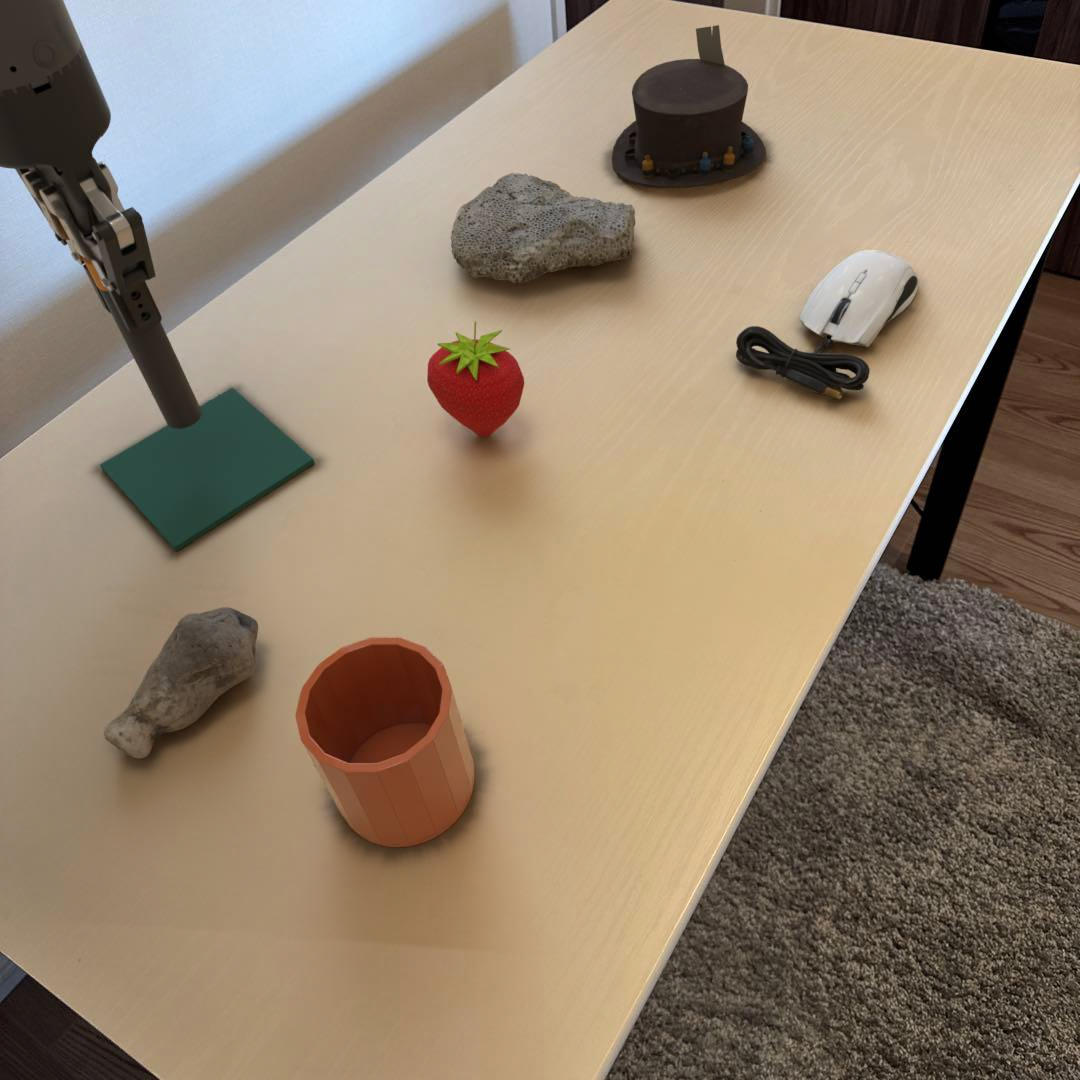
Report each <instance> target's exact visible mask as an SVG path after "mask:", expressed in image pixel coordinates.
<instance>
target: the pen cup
mask: <svg viewBox="0 0 1080 1080" xmlns="http://www.w3.org/2000/svg"><path fill="white" fill-rule="evenodd" d="M295 720H296V725H297V730H298V734H299V738H300V741H301V743H302V745H303V747H304V748H305V751H306V752H307V754H308V756H309V758H310V760H311V762H312V763H313V766H314V768H315V769H316V771H317V772H318V774H319V776H320V778H321V780H322V782H323V784H324V785H325V787H326V790H327V791H328V793H329V795H330V796H331V798H332V800H333V802H334V804H335V806H336V808H337V810H338V812H339V813H340V815H341V816H342V817H343V818H344V820H345V821H346V823H347V824H348V825H349V827H350V828H351V829H352V830H353V831H354V833H356V834H357V835H359V836H360V837H362V838H363V839H365V840H367V841H369V842H370V843H373V844H375V845H379V846H384V847H388V848H407V847H412V846H413V847H414V846H417V845H420V844H424V843H426V842H429V841H430V840H431V841H432V840H433V839H435V838H436V837H439V836H440V835H441V834H442V833H444V832H446V831H447V830H448V829H450V827H451V826H453V825H454V824H455V823H456V822H457V820H458V819H459V818H460V817H461V816H462V815H463V812H464V811H465V810H466V808H467V806H468V804H469V802H470V800H471V798H472V794H473V791H474V785H475V762H474V759H473V756H472V753H471V748H470V745H469V741H468V739H467V735H466V731H465V728H464V725H463V721H462V718H461V714H460V711H459V707H458V704H457V701H456V698H455V694H454V689H453V687H452V684H451V682H450V678H449V675H448V673H447V669H446V666H445V665H444V663H443V662H442V661H441V660H440V659H439V658H438V657H437V656H436V655H435V654H434V653H433V652H432V651H431V650H430V649H428V648H427V646H425V645H423V644H420V643H418V642H415V641H412V640H409V639H406V638H403V637H399V636H377V637H375V636H374V637H373V636H372V637H367V638H364V639H362V640H358V641H356V642H353V643H350V644H346V645H344V646H342V647H340V648H339V649H337V650H336V651H334V652H333V653H331V655H329V656H328V657H326V658H324V660H322V661H321V662H320V663H318V664H317V666H316V667H315V668H314V670H313V672H312V673H311V674H310V675H309V677H308V678H307V680H306V681H305V682H304V684H303V686H302V687H301V689H300V693H299V697H298V701H297V706H296V709H295Z"/></svg>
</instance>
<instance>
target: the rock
mask: <svg viewBox="0 0 1080 1080" xmlns="http://www.w3.org/2000/svg"><path fill="white" fill-rule="evenodd" d="M635 215H636V211H635V207H634V206H633V205H632V204H625V203H624V202H618V203H615V202H612V201H607V202H605V201H604V202H603V201H602V200H601V199H596V198H592V199H591V198H589V197H586V196H577V195H576V196H575V195H572V194H571V193H570V192H569V191H567V190H565V189H562V188H561V186H560V185H559V184H557V183H556V182H553V181H550V180H545V179H541V178H539V177H538V176H534V175H532V174H529V175H528V174H527V173H517V172H510V173H508V174H506V175H503V176H502V177H500V178H498V179H497V180H496V182H495V183H494V184H493V186H487V187H485V188H484V189H483V190H482V191H481V192H479V193H478V194H477V196H475V197H474V198H472V199H471V200H469V201H468V202H466V203H463V204H462V205H460V207H459V208H458V210H457V212H456V214H455V219H454V222H453V225H452V230H451V235H450V240H451V241H450V242H451V243H450V247H451V254H452V256H453V259H454V260H455V262H456V264H457V265H458V266H460V267H461V268H462V269H464V270H468V271H471V272H470V276H472V277H473V278H485V277H486V278H489V279H494V280H497V281H498V280H499V281H510V282H511V283H513V284H515V283H518V284H523V283H528V282H530V281H532V280H535V279H537V278H539V277H541V276H542V275H544V274H545V273H549V272H551V273H553V272H556V271H557V272H558V271H561V270H565V269H567V268H574V267H578V268H579V267H580V266H582V267H586V266H592V267H594V266H599V265H603V264H605V263H609V262H612V261H615V262H617V261H619V260H625V259H629V258H630V257H632V255H631V254H632V251H633V250H632V248H633V242H634V241H635V239H634V238H635V226H636V216H635Z"/></svg>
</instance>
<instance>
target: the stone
mask: <svg viewBox="0 0 1080 1080" xmlns="http://www.w3.org/2000/svg"><path fill="white" fill-rule="evenodd" d="M258 633H259V624H258V621H257V620H256V619H255V618H253V617H252V616H250V615H248V614H245V613H243V612H241V611H240V610H237V609H235V608H231V607H225V606H223V607H217V608H214V609H209V610H207V611H204V612H203V611H202V612H193V613H192V612H191V613H187V614H185V615H184V616H182V617H181V618H180V620H179V621H178V622H177V624H176V626H175V627H174V629H173V630H172V632H171V634H170V635H169V636H168V638H167V639H166V641H165V642H164V644H163V646H162V648H161V650H160V652H159V654H158V655H157V657H155V659H154V660H153V661H152V663H151V664H150V666H149V668H148V669H147V671H146V673H145V674H144V677H143V679H142V681H141V683H140V685H139V686H138V688H137V690H136V691H135V693H134V695H133V697H132V698H131V700H130V702H129V704H128V706H127V707H126V708H125V710H124V711H123V712H121V713H120V714H119V715H117V717H115V718H114V719H112V720H111V721H110V722H109V723H107V725H106V726H105V727H104V730H103V737H104V739H105V740H106V741H107V742H108V743H110V744H111V745H112V746H114V747H115V748H116V749H118V750H119V751H121V752H122V753H124V754H125V755H128V756H130V757H132V758H134V759H144V758H147V757H148V756H149V755H150V753H151V751H152V748H153V746H154V742H155V740H156V739H157V737H159V736H160V735H162V734H166V733H173V732H177V731H180V730H183V729H185V728H187V727H189V726H191V725H192V724H194V723H195V722H197V720H198V719H199V718H201V717H202V716H203V715H204V714H205V712H207V710H208V709H210V707H211V706H212V705H213V704H214V702H216V700H218V698H219V697H220V696H222V695H223V694H224V693H225V692H227V691H228V690H230V689H232V688H233V687H234V686H237V685H238V684H240V683H241V682H243V681H245V680H247V679H249V678H250V677H251V676H252V675H253V673H254V671H255V668H256V664H257V663H256V658H257V657H256V653H257V647H256V646H257V645H256V644H257V638H258Z"/></svg>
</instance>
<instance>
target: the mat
mask: <svg viewBox="0 0 1080 1080" xmlns="http://www.w3.org/2000/svg"><path fill="white" fill-rule="evenodd" d="M199 406H200V408H201V410H202V415H201V417H200V419H199V420H198V421H197V422H196V423H195V424H193V425H191V426H189V427H187V428H182V429H175V428H172V427H170V426H169V425H168V424H167V425H165V426H163V427H162V428H160V429H159V430H157V431H155V432H154V433H151V434H150V435H148V436H146V437H145V438H143V439H141V440H139V441H138V442H135V444H133V445H130V446H129V447H127V448H126V449H124V450H122V451H121V452H119V453H117V454H116V455H114V456H112V457H110V458H108V459H107V460H105V461H104V462H102V463H100V464H99V467H100V468H101V470H102V471H103V472H104V474H106V475H107V477H108V478H109V479H110V480H111V481H112V482H113V484H115V486H116V487H117V488H118V489H119V490H120V491H121V492H122V493H123V494H124V496H126V498H127V499H128V501H130V502H131V503H132V504H133V505H134V507H135V508H136V509H137V510H138V511H139V513H141V514H142V516H144V518H145V519H146V520H147V522H149V524H151V525H152V527H153V528H154V530H156V531H157V532H158V533H159V534H160V535H161V537H162V538H163V539H164V540H165V541H166V543H168V544H169V545H170V547H171V548H172V549H173V550H174V551H175V552H178V551H181V550H182V549H183V548H185V547H187V546H188V545H190V544H191V543H193V542H194V541H196V540H197V539H199V538H201V537H202V536H204V535H205V534H207V533H208V532H210V531H211V530H213V529H215V528H216V527H218V526H219V525H221V524H222V523H224V522H225V521H227V520H229V519H231V518H232V517H233V516H235V515H236V514H238V513H239V512H241V511H242V510H244V509H246V508H247V507H249V506H251V505H252V504H253V503H256V502H257V501H258V500H260V499H262V498H263V497H264V496H266V495H268V494H269V493H271V492H272V491H274V490H276V489H277V488H278V487H281V486H282V485H283V484H285V483H286V482H288V481H290V480H291V479H293V478H294V477H296V476H298V475H299V474H300V473H302V472H303V471H305V470H307V469H309V468H310V467H312V466H313V465H315V463H316V462H315V459H314V458H313V457H312V456H311V455H310V454H308V453H307V451H305V450H304V449H303V448H302V447H301V446H299V445H298V444H297V443H296V442H295V441H294V440H292V439H291V438H290V437H289V436H288V435H287V434H286V433H285V432H284V431H282V430H281V429H280V428H279V427H278V426H276V425H275V423H274V422H272V421H271V420H270V419H269V418H268V417H267V416H266V415H264V414H263V413H262V412H261V411H260V410H259V409H257V408H256V406H254V405H253V404H252V403H251V402H250V401H248V400H247V399H246V398H245V397H244V396H243V395H242V394H241V393H240V392H238V391H237V390H236V389H235V388H233V387H231V388H229V389H227V390H225V391H224V392H222V393H220V394H219V395H216V396H214V397H213V398H211V399H210V400H208V401H206V402H205V403H202V405H199Z"/></svg>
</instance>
